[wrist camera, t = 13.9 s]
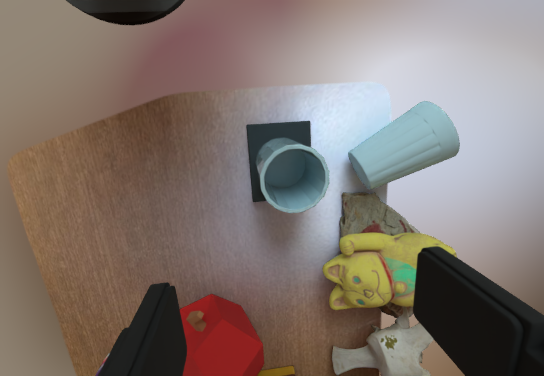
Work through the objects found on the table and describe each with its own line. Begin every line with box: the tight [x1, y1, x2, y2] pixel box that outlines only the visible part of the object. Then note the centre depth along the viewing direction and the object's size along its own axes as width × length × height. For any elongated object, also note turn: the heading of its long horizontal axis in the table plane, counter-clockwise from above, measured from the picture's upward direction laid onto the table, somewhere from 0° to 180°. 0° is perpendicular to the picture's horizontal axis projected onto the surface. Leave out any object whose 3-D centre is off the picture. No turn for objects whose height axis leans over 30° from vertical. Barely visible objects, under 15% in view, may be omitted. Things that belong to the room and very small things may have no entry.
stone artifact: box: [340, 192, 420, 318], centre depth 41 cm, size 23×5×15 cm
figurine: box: [323, 233, 457, 310], centre depth 35 cm, size 11×9×15 cm
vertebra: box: [332, 306, 434, 376], centre depth 39 cm, size 20×11×10 cm
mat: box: [247, 121, 311, 202], centre depth 35 cm, size 10×8×1 cm
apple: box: [180, 294, 264, 376], centre depth 35 cm, size 12×12×15 cm
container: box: [255, 138, 329, 213], centre depth 30 cm, size 7×7×9 cm
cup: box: [348, 101, 460, 189], centre depth 33 cm, size 8×8×10 cm
